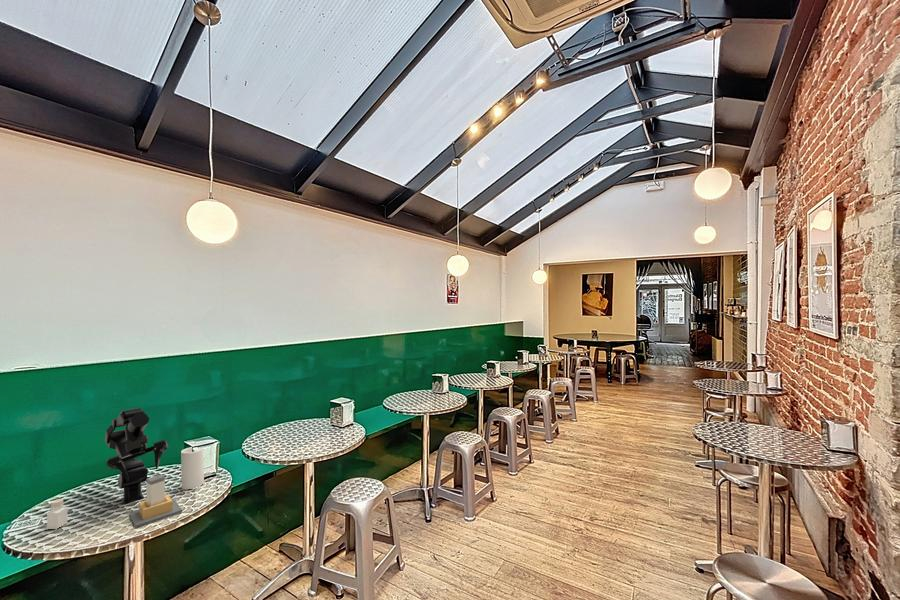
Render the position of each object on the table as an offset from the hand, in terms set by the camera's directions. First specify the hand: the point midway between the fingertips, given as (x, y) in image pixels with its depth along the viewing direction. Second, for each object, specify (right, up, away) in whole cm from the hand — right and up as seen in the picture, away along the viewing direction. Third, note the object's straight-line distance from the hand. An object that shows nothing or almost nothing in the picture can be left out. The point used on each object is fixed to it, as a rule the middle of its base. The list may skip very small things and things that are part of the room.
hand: (142, 474), depth 151 cm
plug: (+9, -12, -4) cm, 15 cm away
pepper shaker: (-22, -14, -12) cm, 28 cm away
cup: (+7, -14, +19) cm, 24 cm away
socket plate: (+9, -13, -4) cm, 16 cm away
